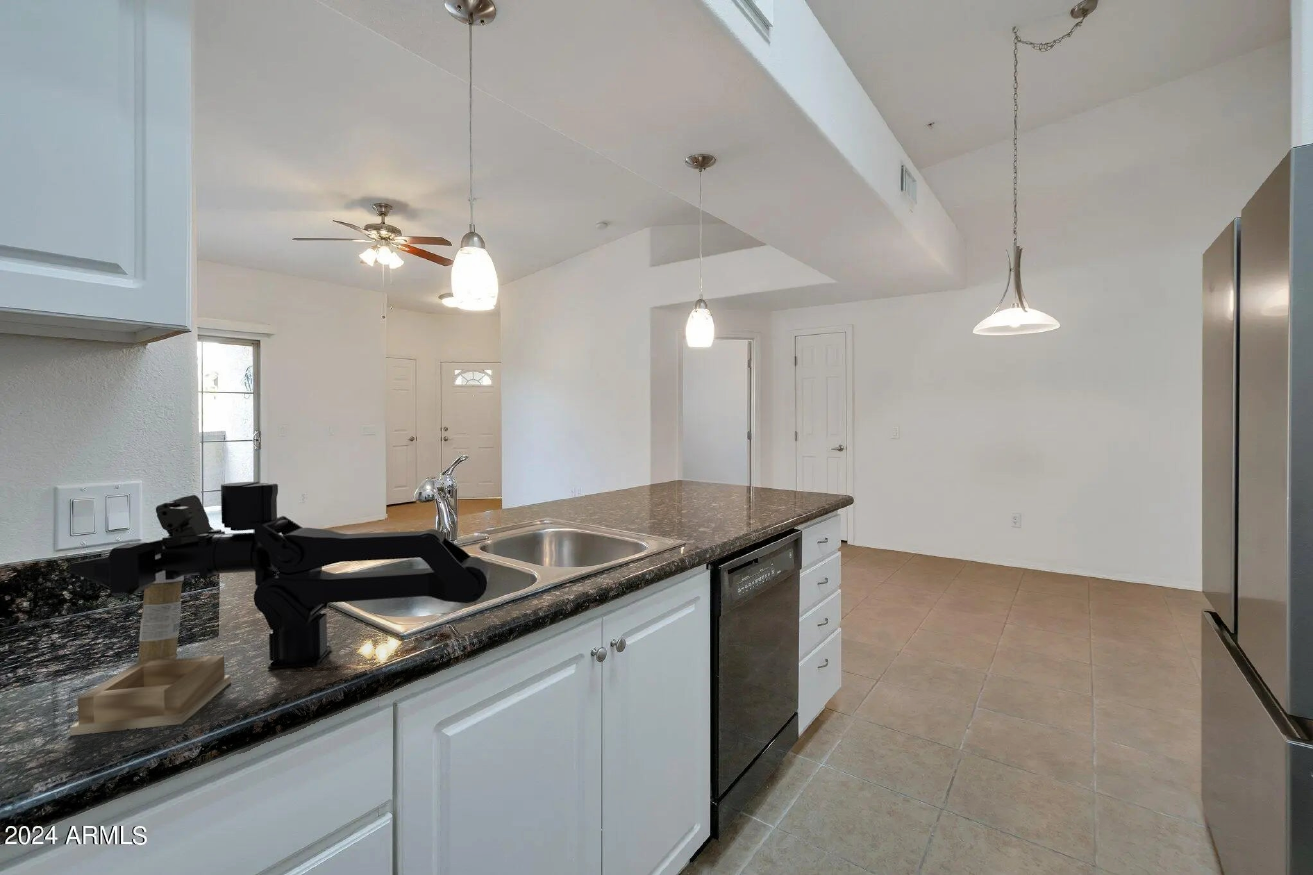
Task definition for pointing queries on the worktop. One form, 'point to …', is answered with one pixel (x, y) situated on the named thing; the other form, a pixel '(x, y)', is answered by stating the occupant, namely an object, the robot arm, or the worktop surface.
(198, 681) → the caddy
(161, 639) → the sprinkles bottle
